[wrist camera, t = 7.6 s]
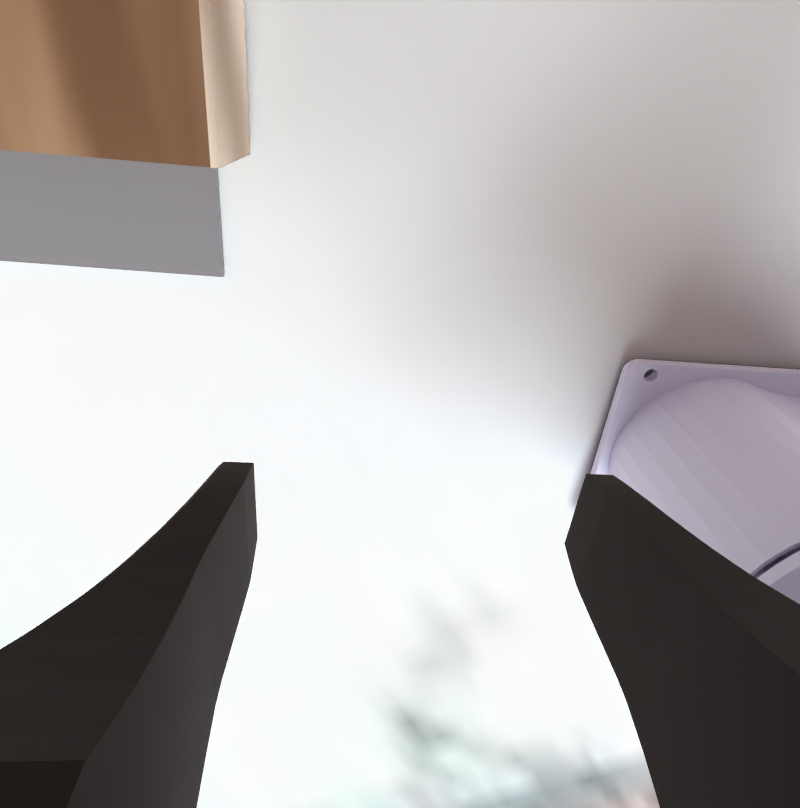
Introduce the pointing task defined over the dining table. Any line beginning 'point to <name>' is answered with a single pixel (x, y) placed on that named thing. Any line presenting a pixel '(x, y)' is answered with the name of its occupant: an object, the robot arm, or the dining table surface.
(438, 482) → the dining table surface
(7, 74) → the walnut block
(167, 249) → the slate mat
